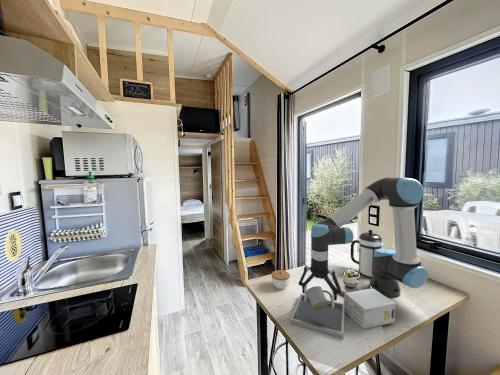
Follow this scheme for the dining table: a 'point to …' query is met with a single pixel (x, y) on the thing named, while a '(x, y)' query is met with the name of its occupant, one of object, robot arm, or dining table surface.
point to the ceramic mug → (318, 297)
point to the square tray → (319, 317)
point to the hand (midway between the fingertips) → (319, 303)
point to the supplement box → (369, 308)
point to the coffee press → (366, 251)
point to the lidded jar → (280, 279)
